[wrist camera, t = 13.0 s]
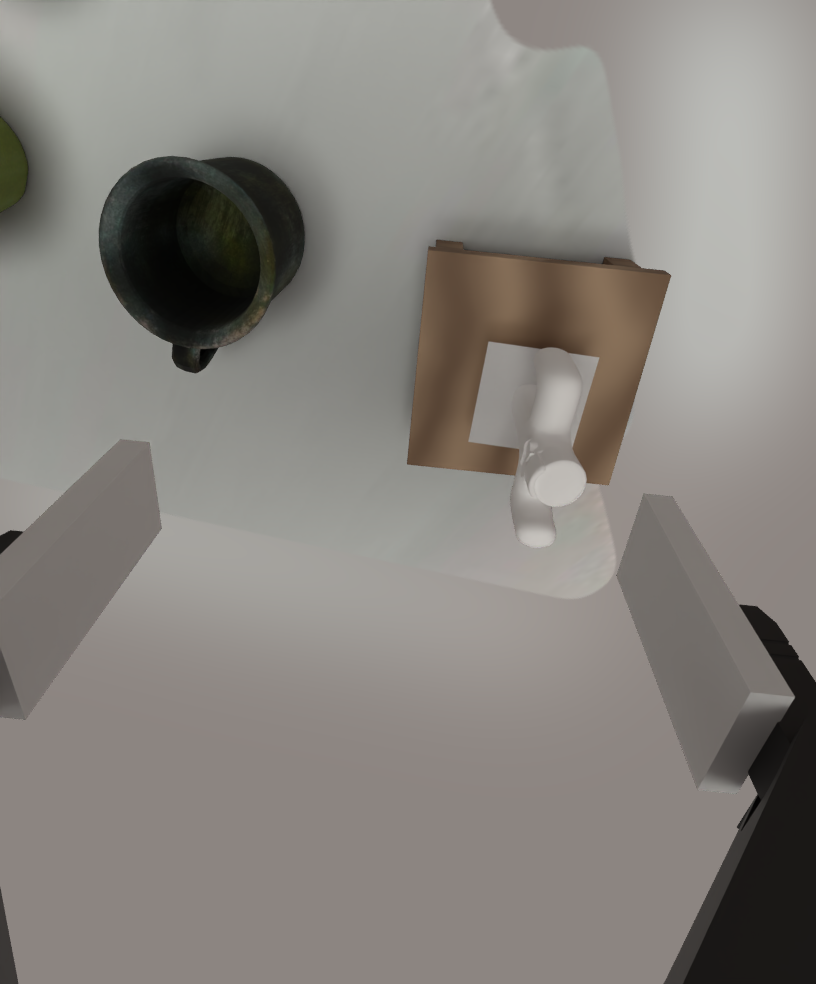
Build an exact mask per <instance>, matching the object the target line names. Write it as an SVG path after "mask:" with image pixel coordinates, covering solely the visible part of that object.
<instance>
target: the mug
mask: <svg viewBox="0 0 816 984" xmlns="http://www.w3.org/2000/svg"><path fill="white" fill-rule="evenodd" d="M99 248H100V254H101V260H102V264H103V267H104V270H105V274H106V276H107V279H108V281H109V283H110V285H111V288H112V289H113V291H114V293H115V294H116V296H117V298H118V299H119V301H120V302H121V304H122V305H123V306H124V308H125V309H126V310H127V311H128V313H129V314H130V315H131V316H132V317H133V318H134V319H135V320H136V321H137V322H138V323H139V324H140V325H142V326H143V327H144V328H146V329H147V330H148V331H150V332H151V333H153V334H154V335H156V336H158V337H159V338H161V339H163V340H165V341H168V342H170V343H173V348H172V359H173V361H174V363H175V365H176V366H177V367H178V368H180V369H182V370H184V371H187V372H192V373H198V372H200V371H201V370H203V369H204V368H206V366H207V365H208V364H209V362H210V361H211V359H212V358H213V356H214V354H215V353H216V351H217V349H218V347H222V346H226V345H228V344H231V343H233V342H235V341H238V340H239V339H241V338H242V337H244V336H245V335H247V334H248V333H249V332H250V331H251V330H252V329H253V328H254V327H255V326H256V325H257V324H258V323H259V321H260V320H261V318H262V317H263V316H264V314H265V312H266V310H267V308H268V306H269V304H270V301H271V300H272V299H273V298H274V297H275V296H276V295H277V294H278V293H279V292H281V291H282V290H283V289H284V288H285V287H286V286H287V285H288V284H289V283H290V281H291V280H292V278H293V277H294V276H295V274H296V272H297V270H298V268H299V266H300V263H301V259H302V256H303V250H304V227H303V221H302V217H301V214H300V210H299V208H298V206H297V203H296V201H295V199H294V197H293V196H292V194H291V192H290V191H289V189H288V188H287V187H286V185H285V184H284V183H283V182H282V181H281V180H280V179H279V178H278V177H277V176H276V175H275V174H274V173H273V172H272V171H270V170H269V169H267V168H266V167H264V166H263V165H260V164H258V163H256V162H254V161H251V160H248V159H244V158H238V157H225V158H216V159H209V160H202V161H198V160H194V159H191V158H187V157H176V156H168V157H158V158H154V159H151V160H148V161H144V162H142V163H141V164H139V165H137V166H135V167H133V168H131V169H130V170H129V171H128V172H127V173H126V174H124V175H123V176H122V177H121V178H120V179H119V181H118V182H117V183H116V184H115V186H114V187H113V188H112V190H111V192H110V194H109V195H108V197H107V199H106V201H105V204H104V207H103V210H102V214H101V219H100V226H99Z"/></svg>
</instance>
